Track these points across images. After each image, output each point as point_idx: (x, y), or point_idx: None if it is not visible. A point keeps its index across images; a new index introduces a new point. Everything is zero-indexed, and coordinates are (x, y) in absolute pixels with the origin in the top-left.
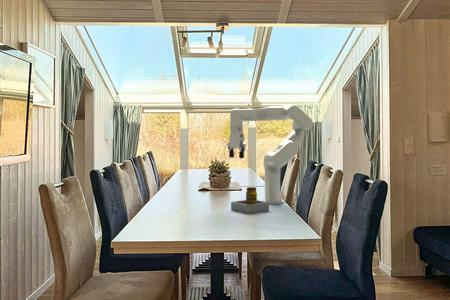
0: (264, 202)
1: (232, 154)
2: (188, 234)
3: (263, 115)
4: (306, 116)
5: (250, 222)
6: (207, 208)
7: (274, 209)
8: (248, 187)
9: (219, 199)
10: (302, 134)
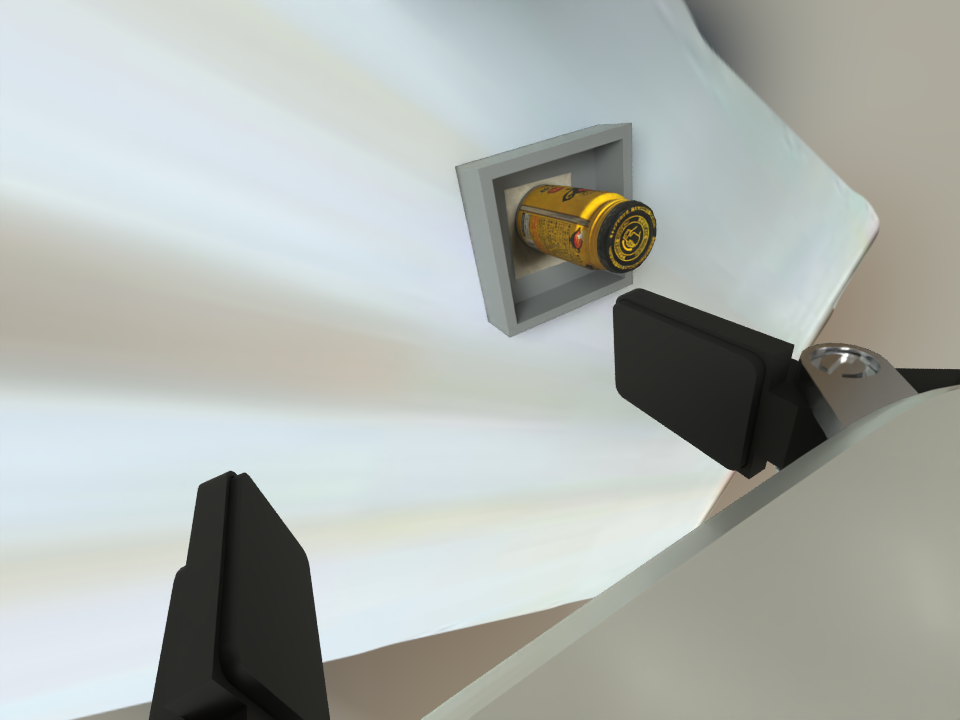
0: (606, 143)
1: (275, 577)
2: (701, 478)
3: None
4: None
5: None
6: (408, 428)
7: (584, 62)
8: (613, 256)
9: None
10: None
